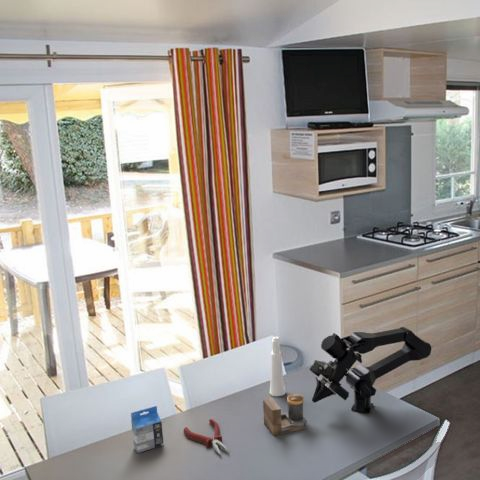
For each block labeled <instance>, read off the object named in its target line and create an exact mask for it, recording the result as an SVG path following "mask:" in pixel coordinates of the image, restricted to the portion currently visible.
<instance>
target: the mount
mask: <svg viewBox="0 0 480 480" xmlns="http://www.w3.org/2000/svg"><path fill="white" fill-rule="evenodd" d="M262 401H263V402H262V407H263V408H262V409H263V425H264V426H265V427H266V429H267V431H269V433H270V434H271V435H272V436H273V437H275V436H279V435H283V434H287V433H292V432H295V431H301V430H303V429H306V425H305V423H304V422H299V423H295V424H291V423H290V422H289V421H288V420H287V418H286V417H285V415H286V414H288V412H285V413H282V408H281V407H280V406H279V404H278V403H276V401H275V400H274V399H273V398H272V397H269V398H265V399H264V398H263V399H262Z"/></svg>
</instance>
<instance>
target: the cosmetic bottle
mask: <svg viewBox="0 0 480 480" xmlns="http://www.w3.org/2000/svg"><path fill="white" fill-rule="evenodd" d="M280 346H281V343H280V337H279V336H273V337H272V339H271V349H272V350H271V353H270V354H271V355H270V385H269V393H268V394H269V395H270V396H273V397H282V396H284V395H285V394H286V393H287V392H286V388H285V382H284V371H283V361H282V359H283V358H282V352H281V347H280Z"/></svg>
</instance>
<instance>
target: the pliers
mask: <svg viewBox="0 0 480 480" xmlns="http://www.w3.org/2000/svg"><path fill="white" fill-rule="evenodd" d="M209 425H211V426H212V428H213V429H214V437H213V438H214V439H213V438H212V437H209V436H206V435H202V434H199V433H195V432H193V431H191V430H190V429H189V428H188V427H187V426H185V427H183V434H184V435H185V436H186V437H187V438H188V439H190V440H192V441H194V442H197V443H200V444H204V445H205V447H206V448H209V447H212V448H213V450H214V451H215V452H216V453H217V455H219V456H220V457H222V453H221V451H222V452H226V453H227V454H230V451H229V449H228V448H227V447H226V446H225V444H223V436H222V435H220V426H219V423H218V422H216V421H215V420H214V419H213V418H211V419H209ZM219 448H220V449H219Z"/></svg>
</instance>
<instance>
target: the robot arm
mask: <svg viewBox="0 0 480 480" xmlns="http://www.w3.org/2000/svg"><path fill="white" fill-rule="evenodd" d="M402 342H403V343H404V344H403V346H402V347H401V349H399V350H397V351H395V352H393V353H392V354H389V355H388V356H386V357H383V358H382V359H380V360H378V361H376V362H375V363H373V364H371V365H369V366H365V365H363V364H362V363H363V359H362V355H364V354H367V353H370V352H372V351H373V350H374V349H375V348H377V347H382V346H387V345H392V344H397V343H402ZM320 348H321V349H322V351H324V352H325V353H326V354H328V355H329V357H331V358H333V359H334V361H332V360H329V361H328V362H327V363H326V362H325V361H320V360H316V359H315V360H314V362H313V363H312V365H311V367H310V368H309V371H310V372H311V373H312V374H314V375H316V376H317V377H315V380H316V386H315V390H314V393H313V396H312V398H311V401H312V402H313V403H314V404H316V403H317V402H319V401H322V400H324V399H326V398H329V397H331V396H336V395H338V396H339V398H341V399H342V400H344V401H347V399H348V398H349V396H350V392H349V391H347V390H346V389H345V388H344V387H343V386H342V383H340V382H341V381H342V380H343V378H344V377H345V382H346V384H347V385H348V386H349V387H350V389H352V390H353V391H354V393H353V400H354V401H353V404H352V406H351V411H354V412H360V413H364V414H370V413H371V411H372V409H373V407H374V406H375V405H374V403H372V397H373V396H375V395H376V392H377V389H376V388H375V387H374V384H375V382H376V381H377V379H379V378H381V377H383V376H385V375H386V374H387V375H388V374H389V373H390V372H392V371H394V370H396V369H397V368H399V367H401V366H403V365H405V364H406V363H408V362H414V361H422V360H425V359H426V358H428V357H430V355H431V352H432V345H431V344H430V343H429V342H427V341H426V340H424V339H422V338H420V337H418V336H417V334H415V333H414V332H413V331H412V330H410V329H409V328H407V327H404V326H401V327H398V328H394V329H389V330H382V331H378V332H373V333H372V332H365V331H354V332H352V333H350V335H348V336H344V337H340V336H339V335H338V334H336V333H335V332H333V334H332V335H328V336H326V337H325V338H324V339H323V340H322V341H321V344H320ZM356 362H358V363H359V364H357V365H356V366H355V367H353V365H354V364H355V363H356Z"/></svg>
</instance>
